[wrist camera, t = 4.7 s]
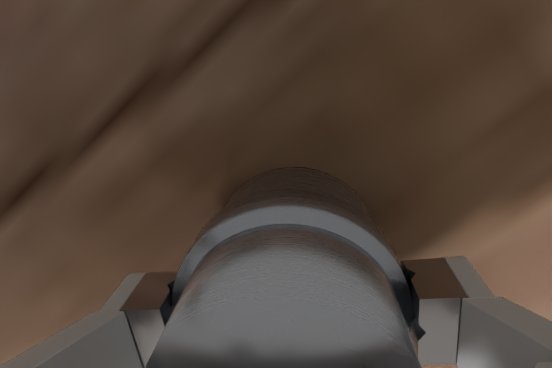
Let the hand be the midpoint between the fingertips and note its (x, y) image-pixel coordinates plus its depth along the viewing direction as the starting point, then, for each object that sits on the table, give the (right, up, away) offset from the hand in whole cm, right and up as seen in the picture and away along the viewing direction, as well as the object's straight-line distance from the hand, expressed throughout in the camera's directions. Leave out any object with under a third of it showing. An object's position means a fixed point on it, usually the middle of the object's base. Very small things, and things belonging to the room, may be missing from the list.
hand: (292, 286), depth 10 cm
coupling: (0, +1, +2) cm, 2 cm away
